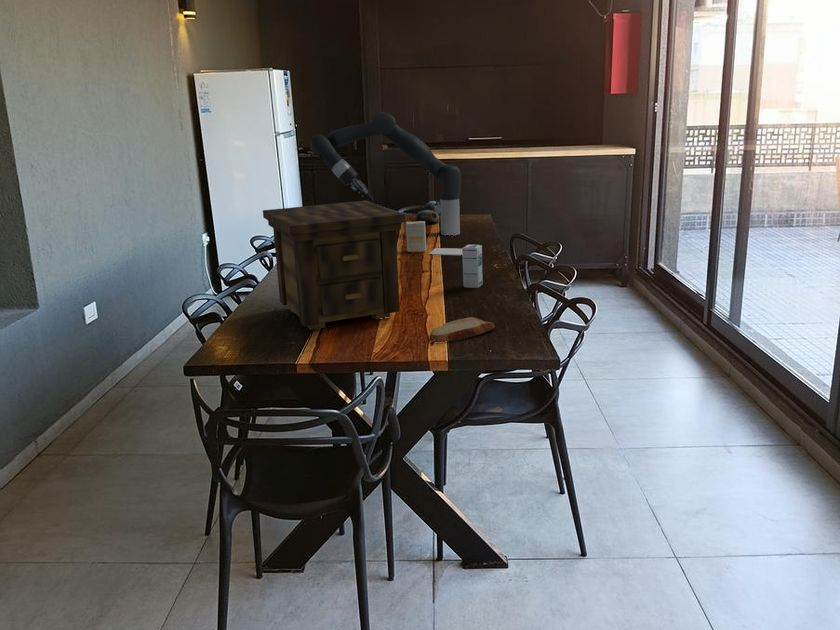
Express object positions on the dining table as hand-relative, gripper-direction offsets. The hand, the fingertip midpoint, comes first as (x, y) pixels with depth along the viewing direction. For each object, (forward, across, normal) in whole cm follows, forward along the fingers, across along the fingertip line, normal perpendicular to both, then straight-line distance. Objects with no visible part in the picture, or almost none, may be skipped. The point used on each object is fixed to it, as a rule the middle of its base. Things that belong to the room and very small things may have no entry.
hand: (371, 201), depth 320 cm
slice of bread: (+60, -109, -26) cm, 127 cm away
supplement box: (+30, 0, +1) cm, 30 cm away
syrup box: (+54, -56, -23) cm, 81 cm away
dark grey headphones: (+20, +73, +8) cm, 76 cm away
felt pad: (+40, 0, -11) cm, 42 cm away
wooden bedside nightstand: (+30, -94, +5) cm, 99 cm away
